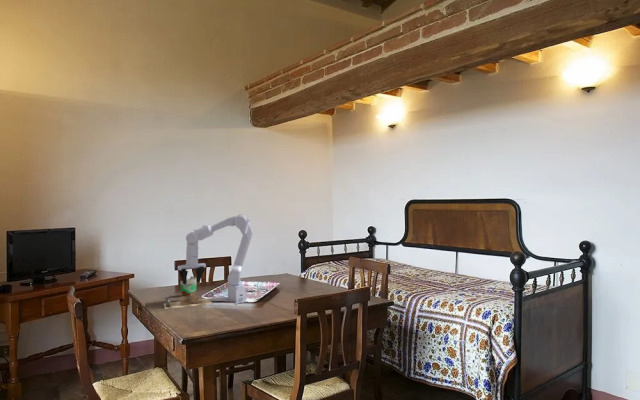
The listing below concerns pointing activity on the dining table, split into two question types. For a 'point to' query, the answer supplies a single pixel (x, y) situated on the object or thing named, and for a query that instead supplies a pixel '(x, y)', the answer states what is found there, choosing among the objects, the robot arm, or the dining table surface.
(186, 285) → the food container
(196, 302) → the tan cardboard box
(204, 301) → the board
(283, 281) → the dining table surface
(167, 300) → the cylinder
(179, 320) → the dining table surface
